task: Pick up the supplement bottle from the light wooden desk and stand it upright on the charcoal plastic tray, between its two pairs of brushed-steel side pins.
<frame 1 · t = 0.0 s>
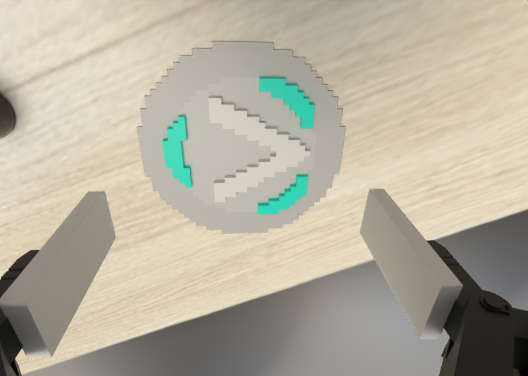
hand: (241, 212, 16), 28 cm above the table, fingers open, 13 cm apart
grey symbol plate: (243, 149, 45), on the table
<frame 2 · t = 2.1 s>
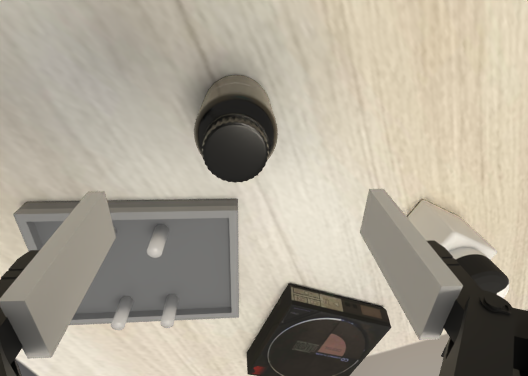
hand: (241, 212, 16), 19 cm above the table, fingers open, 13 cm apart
supplement bottle: (236, 107, 33), on the table
pin tray: (146, 259, 42), on the table
medicine bottle: (423, 227, 43), on the table
portable cd player: (312, 326, 52), on the table
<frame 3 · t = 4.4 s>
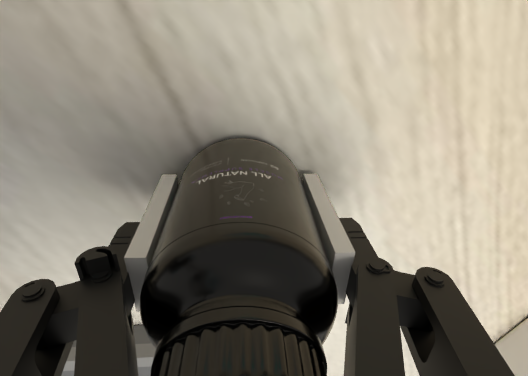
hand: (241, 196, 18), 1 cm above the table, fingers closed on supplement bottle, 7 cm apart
supplement bottle: (240, 189, 18), on the table, touching gripper
medicine bottle: (525, 345, 28), on the table
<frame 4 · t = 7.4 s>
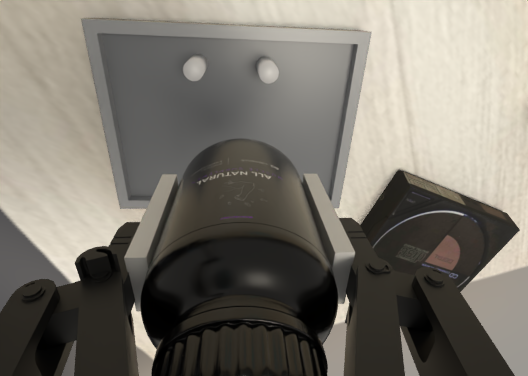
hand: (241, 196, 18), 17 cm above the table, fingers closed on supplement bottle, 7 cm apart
supplement bottle: (240, 189, 18), point 16 cm above the table, touching gripper
pin tray: (232, 121, 33), on the table
portable cd player: (410, 238, 43), on the table
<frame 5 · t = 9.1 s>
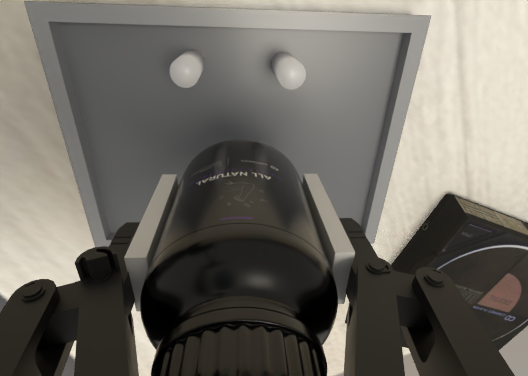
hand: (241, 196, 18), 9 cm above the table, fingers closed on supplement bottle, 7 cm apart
supplement bottle: (240, 189, 18), point 8 cm above the table, touching gripper
pin tray: (238, 137, 25), on the table
portable cd player: (454, 271, 36), on the table
when the fingers open (4 cm above the table, at t = 10.5 s): supplement bottle drops 2 cm, resting on pin tray.
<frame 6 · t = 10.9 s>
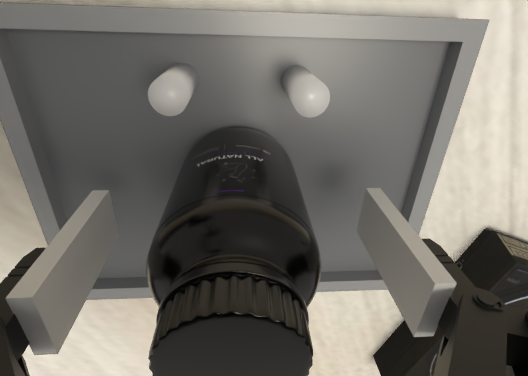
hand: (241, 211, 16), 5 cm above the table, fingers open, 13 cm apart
supplement bottle: (237, 176, 20), point 1 cm above the table, touching pin tray
pin tray: (240, 167, 21), on the table
portable cd player: (486, 311, 31), on the table
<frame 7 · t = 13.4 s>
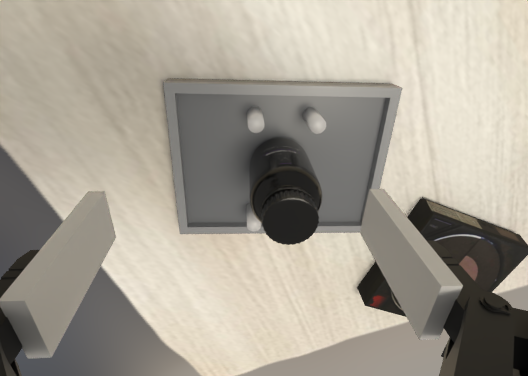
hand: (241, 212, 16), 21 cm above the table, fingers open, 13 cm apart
supplement bottle: (277, 163, 37), point 1 cm above the table, touching pin tray
pin tray: (278, 159, 38), on the table
portable cd player: (431, 257, 48), on the table
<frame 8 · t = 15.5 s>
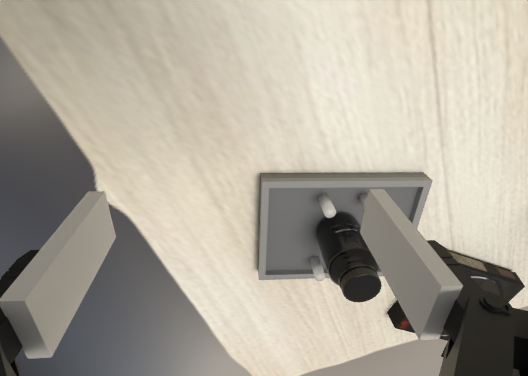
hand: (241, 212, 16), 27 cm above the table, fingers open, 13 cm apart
supplement bottle: (336, 228, 49), point 1 cm above the table, touching pin tray
pin tray: (335, 224, 50), on the table
portable cd player: (445, 288, 61), on the table
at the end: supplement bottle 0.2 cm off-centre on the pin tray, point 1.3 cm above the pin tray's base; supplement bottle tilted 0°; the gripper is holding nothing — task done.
